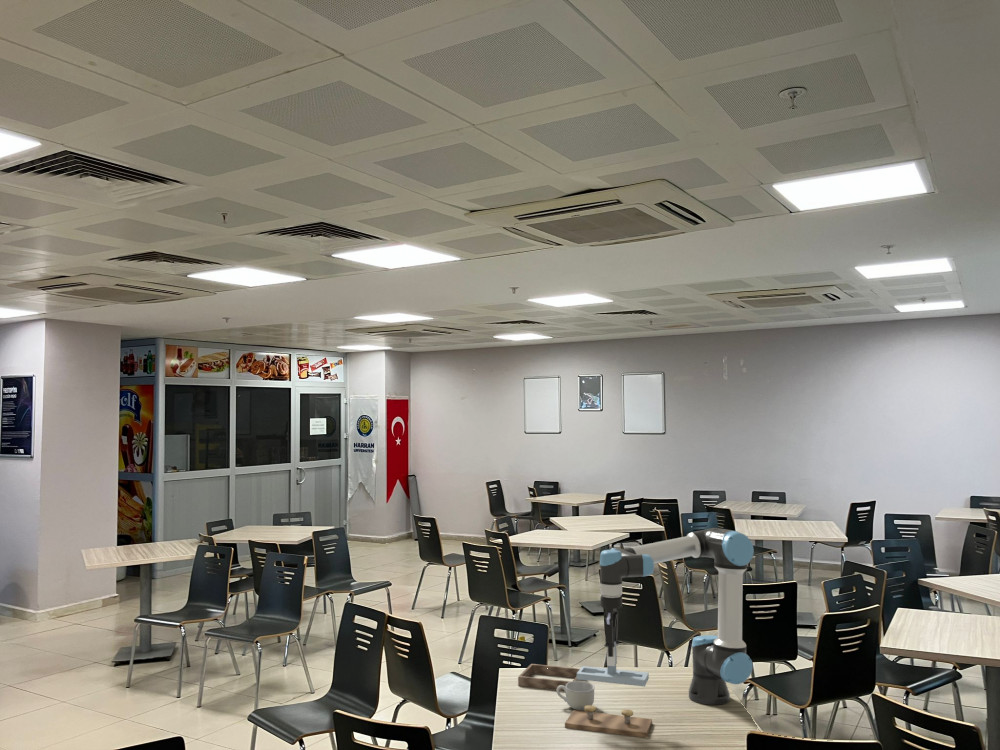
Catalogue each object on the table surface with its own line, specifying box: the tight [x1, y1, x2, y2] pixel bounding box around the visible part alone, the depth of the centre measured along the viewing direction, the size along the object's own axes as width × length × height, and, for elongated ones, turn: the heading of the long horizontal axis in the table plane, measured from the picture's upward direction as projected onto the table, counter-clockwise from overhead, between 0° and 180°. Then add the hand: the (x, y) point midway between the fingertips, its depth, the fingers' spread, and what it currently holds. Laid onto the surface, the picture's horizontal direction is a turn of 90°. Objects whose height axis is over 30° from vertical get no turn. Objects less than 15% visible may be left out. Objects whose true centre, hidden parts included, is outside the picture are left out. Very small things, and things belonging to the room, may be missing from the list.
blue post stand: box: [577, 641, 650, 688], centre depth 268 cm, size 24×9×12 cm, turn 71°
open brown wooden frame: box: [517, 663, 583, 692], centre depth 314 cm, size 23×18×4 cm
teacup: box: [556, 680, 595, 711], centre depth 286 cm, size 14×11×8 cm
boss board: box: [564, 704, 653, 738], centre depth 268 cm, size 28×13×5 cm, turn 71°
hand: (612, 664), depth 268 cm, fingers closed on blue post stand, 3 cm apart
